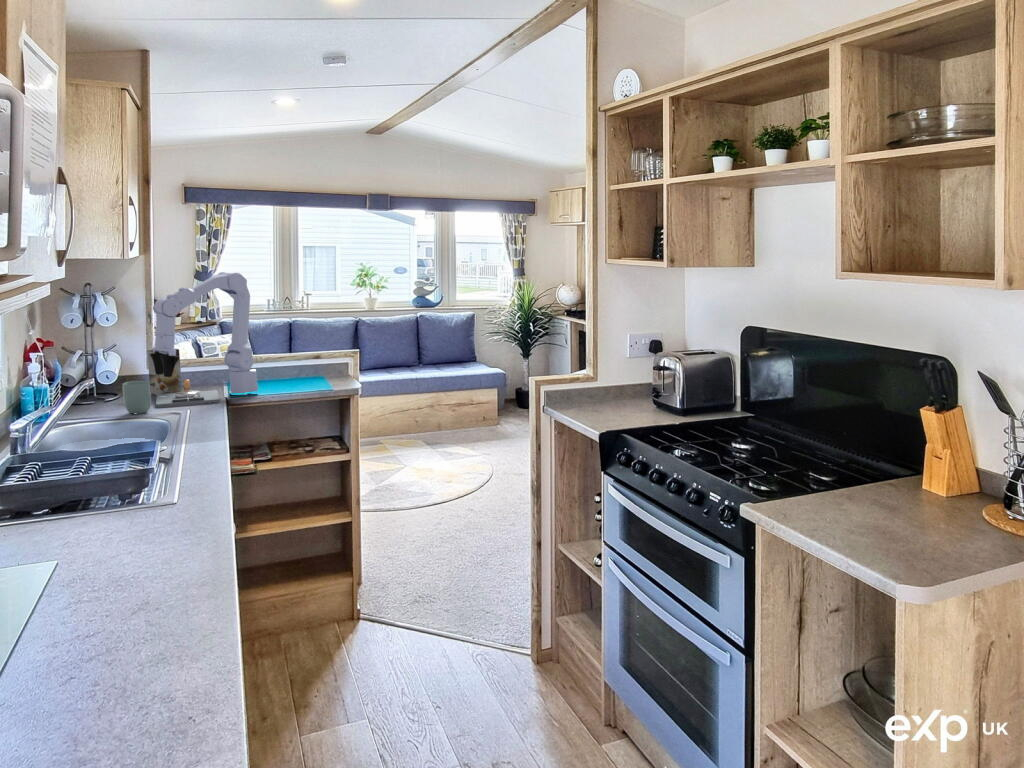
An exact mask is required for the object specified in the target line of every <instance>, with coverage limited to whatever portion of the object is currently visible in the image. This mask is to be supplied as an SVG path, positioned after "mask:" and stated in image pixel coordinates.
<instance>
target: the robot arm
mask: <svg viewBox="0 0 1024 768" xmlns="http://www.w3.org/2000/svg"><path fill="white" fill-rule="evenodd" d="M247 283H248V279H246V278H245V276H244V275H242V274H241V273H240V272H225V271H224V272H218V273H217V274H213V275H212V276H211V277H208V278H207V279H205V280H203V281H202V282H200V283H199V284H197V285H195V286H194V287H192V288H190V287H189V288H188V287H180V288H178V291H175V292H174V293H172V294H169V293H168V294H167V295H166V297H165V298H159V299H157V300H156V301H155V303H154V305H152V309H153V312H154V313H155V316H156V317H155V319H156V320H155V338H154V339H155V340H154V341H155V345H154V346H153V347H150V350H153V352H155V353H150V356H151V358H152V360H153V364H154V368H155V373H156V374H163V372H164V377H171V376H172V374H173V370H174V367H175V364H176V362H177V361H178V359H179V357H178V356H176V350H175V349H176V348H175V334H176V333H175V332H176V331H175V330H176V316H178V314H179V313H180V311H182V310H184V309H186V308H188V307H189V306H191V305H193V304H195V303H196V302H197V298H199V297H201V296H203V295H205V294H208V293H209V292H211V291H213V290H216V289H219V290H221V291H223V292H225V293H226V294H228V295H229V296H230V297H231V298H232V299H233V307H232V311H233V312H232V326H231V327H232V328H231V343H230V344H229V345H228V346H227V349H226V350H227V351H226V353H225V356H224V364H225V365H226V366H227V367H228V370H229V375H228V376H229V385H230V391H228V393H229V392H230V393H235V394H236V393H245V392H253V391H258V389H259V384H258V374H257V370H256V369H255V368H253V369H252V367H253V365H254V356H253V350H252V348H251V347H250V345H249V344H248V341H249V340H248V339H249V323H250V309H251V307H250V305H251V294H250V293H251V292H250V291H249V288H248V285H247ZM162 351H164V352H162ZM166 352H167V353H166ZM258 392H259V391H258ZM230 393H229V394H230Z"/></svg>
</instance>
